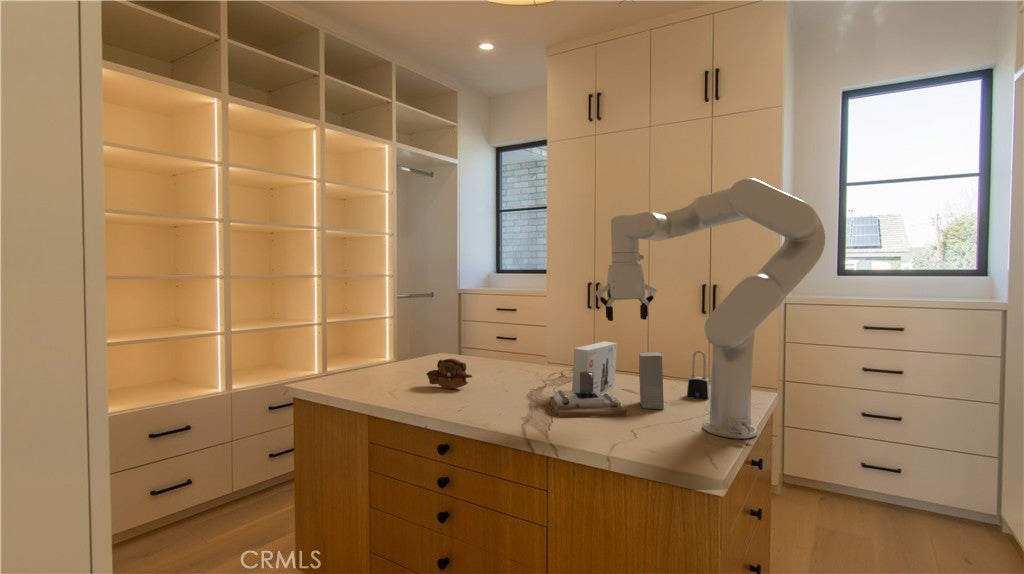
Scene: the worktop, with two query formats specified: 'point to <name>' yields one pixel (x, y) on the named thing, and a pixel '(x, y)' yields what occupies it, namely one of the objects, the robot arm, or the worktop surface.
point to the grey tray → (584, 400)
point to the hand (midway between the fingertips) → (626, 319)
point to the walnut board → (588, 411)
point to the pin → (586, 384)
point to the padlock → (698, 382)
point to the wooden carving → (449, 374)
